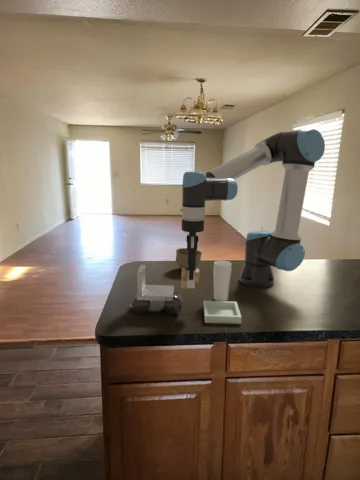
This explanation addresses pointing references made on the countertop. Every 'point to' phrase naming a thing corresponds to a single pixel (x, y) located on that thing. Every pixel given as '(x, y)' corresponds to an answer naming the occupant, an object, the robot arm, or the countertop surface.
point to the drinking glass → (221, 279)
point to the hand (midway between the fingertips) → (190, 285)
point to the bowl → (186, 257)
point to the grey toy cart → (155, 296)
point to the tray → (221, 312)
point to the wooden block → (184, 278)
